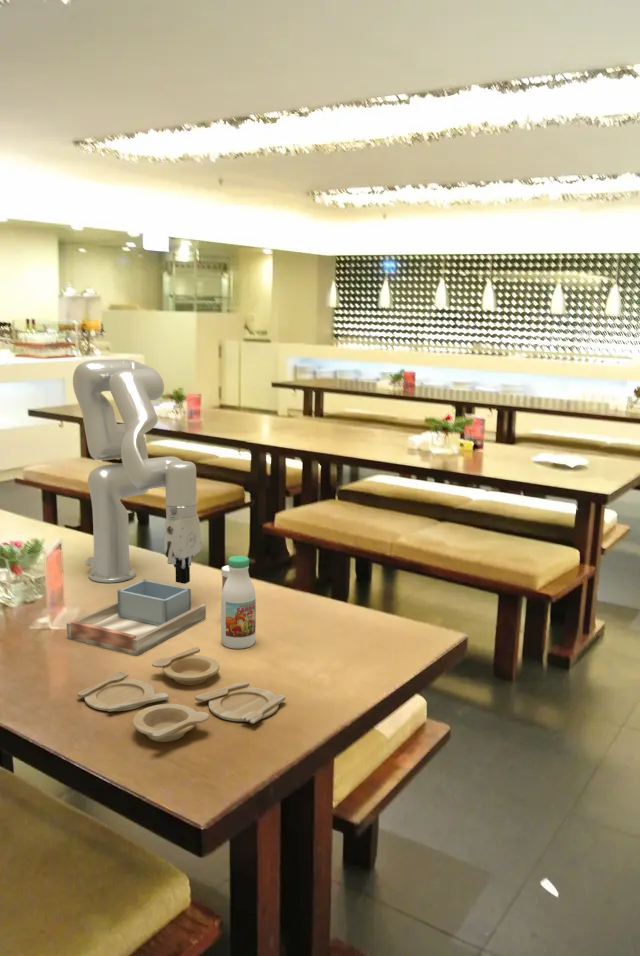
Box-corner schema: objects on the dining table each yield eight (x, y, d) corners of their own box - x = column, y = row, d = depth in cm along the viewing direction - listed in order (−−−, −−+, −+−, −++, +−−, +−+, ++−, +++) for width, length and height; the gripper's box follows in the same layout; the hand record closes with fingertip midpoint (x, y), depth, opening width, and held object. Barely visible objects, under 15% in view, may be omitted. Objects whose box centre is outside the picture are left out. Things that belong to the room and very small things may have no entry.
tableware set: (299, 712, 157) (299, 692, 156) (169, 768, 136) (168, 745, 136) (190, 655, 181) (190, 638, 180) (66, 695, 161) (65, 676, 160)
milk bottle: (214, 645, 186) (214, 559, 182) (233, 634, 193) (233, 551, 189) (243, 652, 183) (243, 565, 179) (261, 640, 189) (262, 556, 185)
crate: (118, 616, 199) (117, 590, 197) (144, 603, 208) (144, 579, 206) (165, 627, 193) (165, 601, 191) (190, 614, 201) (190, 588, 200)
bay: (67, 638, 188) (66, 621, 187) (140, 604, 211) (139, 589, 210) (137, 655, 179) (137, 638, 178) (205, 618, 202) (205, 602, 201)
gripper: (175, 518, 197) (177, 592, 200) (211, 507, 210) (211, 576, 213) (150, 515, 200) (152, 588, 204) (186, 503, 213) (187, 572, 217)
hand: (182, 582), depth 209 cm, fingers closed
